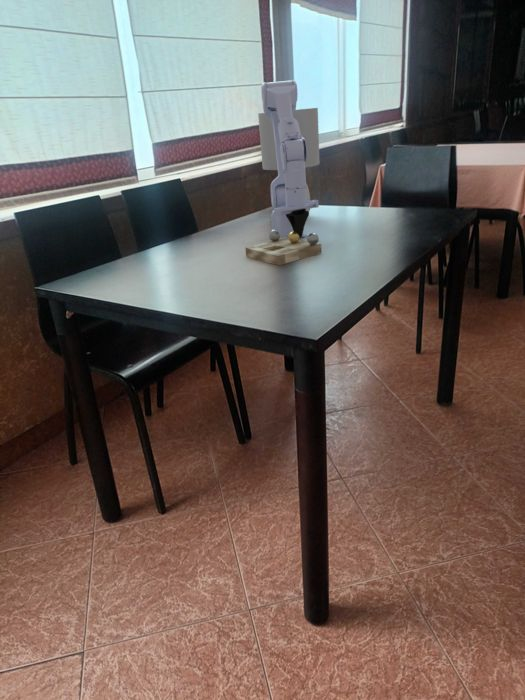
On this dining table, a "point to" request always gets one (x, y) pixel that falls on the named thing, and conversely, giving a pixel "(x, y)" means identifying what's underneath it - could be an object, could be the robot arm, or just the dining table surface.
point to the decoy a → (274, 235)
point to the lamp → (308, 131)
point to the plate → (282, 251)
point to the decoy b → (312, 238)
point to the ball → (293, 237)
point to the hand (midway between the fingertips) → (298, 237)
